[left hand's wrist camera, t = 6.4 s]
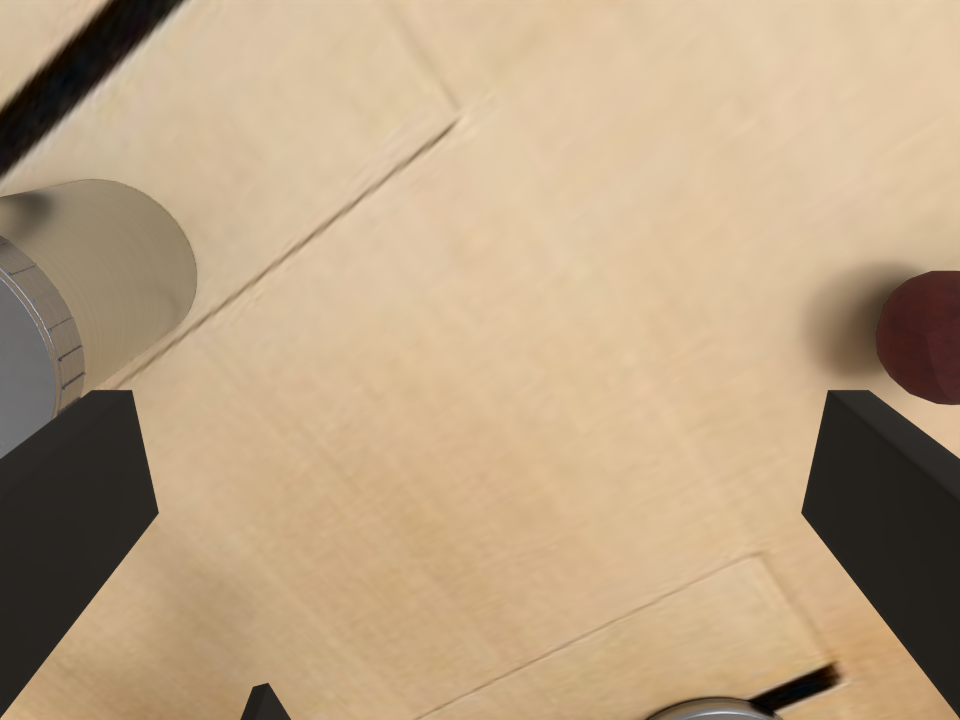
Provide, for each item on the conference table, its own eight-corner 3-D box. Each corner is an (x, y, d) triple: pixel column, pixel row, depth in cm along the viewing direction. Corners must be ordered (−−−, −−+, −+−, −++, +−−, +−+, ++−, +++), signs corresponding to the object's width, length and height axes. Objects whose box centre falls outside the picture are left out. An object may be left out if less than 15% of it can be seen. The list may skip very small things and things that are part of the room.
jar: (210, 341, 42) (74, 465, 28) (52, 345, 42) (-164, 470, 28) (179, 176, 38) (2, 223, 24) (5, 181, 38) (-273, 231, 24)
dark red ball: (877, 393, 43) (949, 446, 36) (831, 298, 40) (899, 337, 34) (989, 334, 41) (1085, 379, 35) (948, 232, 39) (1043, 259, 32)
